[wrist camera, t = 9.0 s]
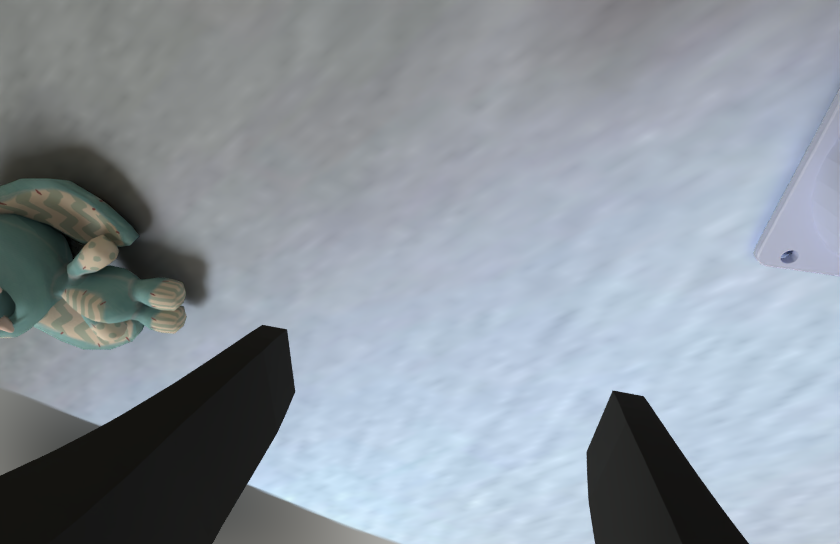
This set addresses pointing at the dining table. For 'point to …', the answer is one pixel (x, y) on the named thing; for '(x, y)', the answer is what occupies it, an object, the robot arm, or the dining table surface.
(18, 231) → the stuffed animal
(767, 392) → the dining table surface
